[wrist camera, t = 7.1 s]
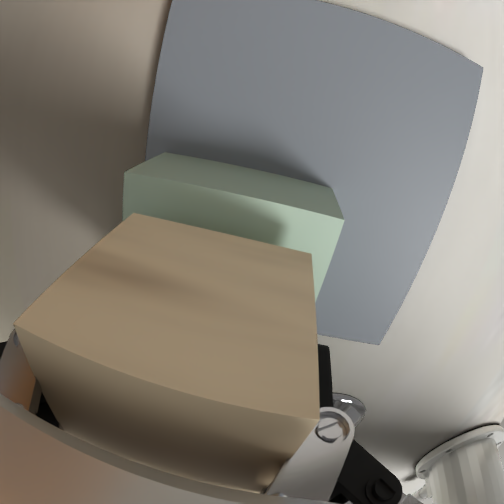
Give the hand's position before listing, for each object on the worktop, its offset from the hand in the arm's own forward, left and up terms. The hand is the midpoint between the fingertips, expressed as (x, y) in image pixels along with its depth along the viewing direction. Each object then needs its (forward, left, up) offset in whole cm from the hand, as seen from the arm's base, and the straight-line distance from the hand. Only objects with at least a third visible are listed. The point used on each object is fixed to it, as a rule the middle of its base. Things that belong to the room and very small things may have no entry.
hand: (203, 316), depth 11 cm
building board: (+4, -2, -7) cm, 8 cm away
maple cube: (0, 0, -1) cm, 1 cm away
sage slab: (0, 0, -6) cm, 6 cm away
